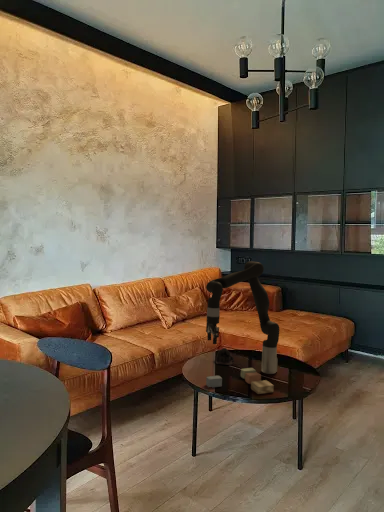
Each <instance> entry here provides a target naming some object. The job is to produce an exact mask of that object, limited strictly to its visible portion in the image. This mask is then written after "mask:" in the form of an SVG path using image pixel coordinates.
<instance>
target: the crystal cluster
mask: <svg viewBox="0 0 384 512" xmlns="http://www.w3.org/2000/svg"><path fill="white" fill-rule="evenodd" d="M215 363H216V364H217V365H227V366H230V365H234V363H235V358H234V356H232V354H231V352H230V351H229V350H228V349H227V348H221V349H220V350H218V352H217V354H216V357H215Z"/></svg>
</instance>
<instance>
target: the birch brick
mask: <svg viewBox="0 0 384 512" xmlns="http://www.w3.org/2000/svg"><path fill="white" fill-rule="evenodd" d="M274 386H275V385H274V384H272V383H271V382H270V381H268V380H267V379H265V380H264V379H263V380H261V381H254V382H251V384H250V389H251V391H253V392H255V393H256V394H257V395H260V394H261V395H262V394H269V393H274V388H275V387H274Z"/></svg>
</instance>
